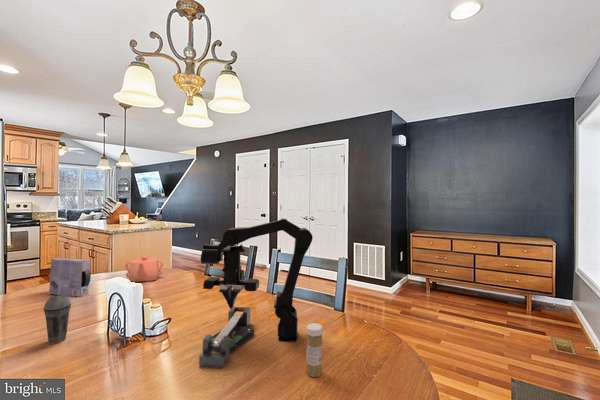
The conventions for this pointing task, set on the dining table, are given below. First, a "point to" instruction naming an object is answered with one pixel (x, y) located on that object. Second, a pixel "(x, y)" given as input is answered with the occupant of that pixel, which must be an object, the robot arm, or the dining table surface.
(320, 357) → the sprinkles bottle
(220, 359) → the bracket
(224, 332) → the long grey bar
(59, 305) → the beverage cup
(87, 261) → the cake pan box
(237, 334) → the disk drive
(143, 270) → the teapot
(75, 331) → the dining table surface
